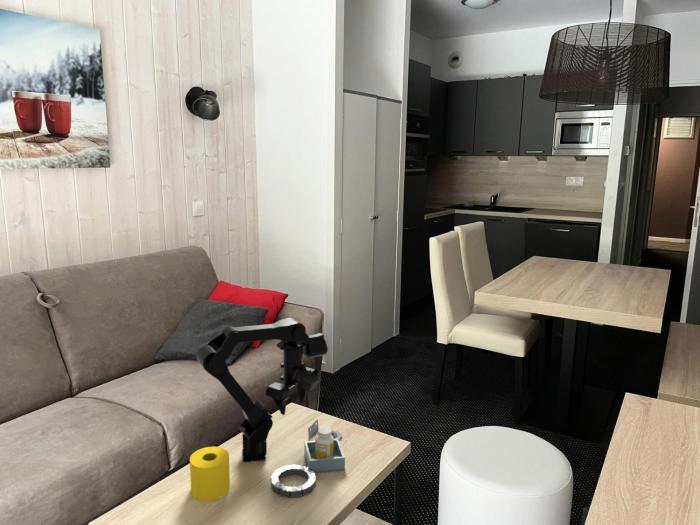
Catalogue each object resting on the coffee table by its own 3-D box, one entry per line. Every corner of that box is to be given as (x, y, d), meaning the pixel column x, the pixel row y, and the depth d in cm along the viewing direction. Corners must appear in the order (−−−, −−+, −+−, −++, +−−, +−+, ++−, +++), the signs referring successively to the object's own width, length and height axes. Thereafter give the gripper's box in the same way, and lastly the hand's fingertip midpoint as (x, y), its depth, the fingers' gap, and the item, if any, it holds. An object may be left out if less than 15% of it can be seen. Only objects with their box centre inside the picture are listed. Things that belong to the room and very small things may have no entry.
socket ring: (273, 500, 139) (273, 493, 139) (270, 473, 151) (270, 467, 150) (318, 495, 142) (318, 488, 142) (311, 469, 153) (311, 463, 153)
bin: (309, 473, 151) (309, 461, 150) (304, 453, 161) (304, 441, 160) (344, 470, 153) (345, 457, 153) (337, 450, 163) (338, 438, 162)
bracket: (336, 445, 167) (336, 435, 166) (307, 438, 171) (307, 428, 170) (345, 435, 173) (345, 425, 172) (317, 428, 176) (317, 418, 176)
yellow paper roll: (190, 503, 137) (189, 470, 135) (191, 480, 147) (190, 449, 145) (230, 497, 140) (230, 465, 138) (228, 475, 149) (228, 444, 148)
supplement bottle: (319, 467, 153) (320, 436, 151) (311, 457, 158) (312, 428, 156) (336, 462, 156) (337, 432, 154) (327, 453, 161) (328, 423, 158)
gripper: (294, 377, 148) (294, 429, 151) (332, 356, 164) (331, 404, 167) (264, 368, 154) (264, 418, 157) (303, 348, 169) (303, 394, 173)
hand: (292, 408), depth 163 cm, fingers open, 9 cm apart
